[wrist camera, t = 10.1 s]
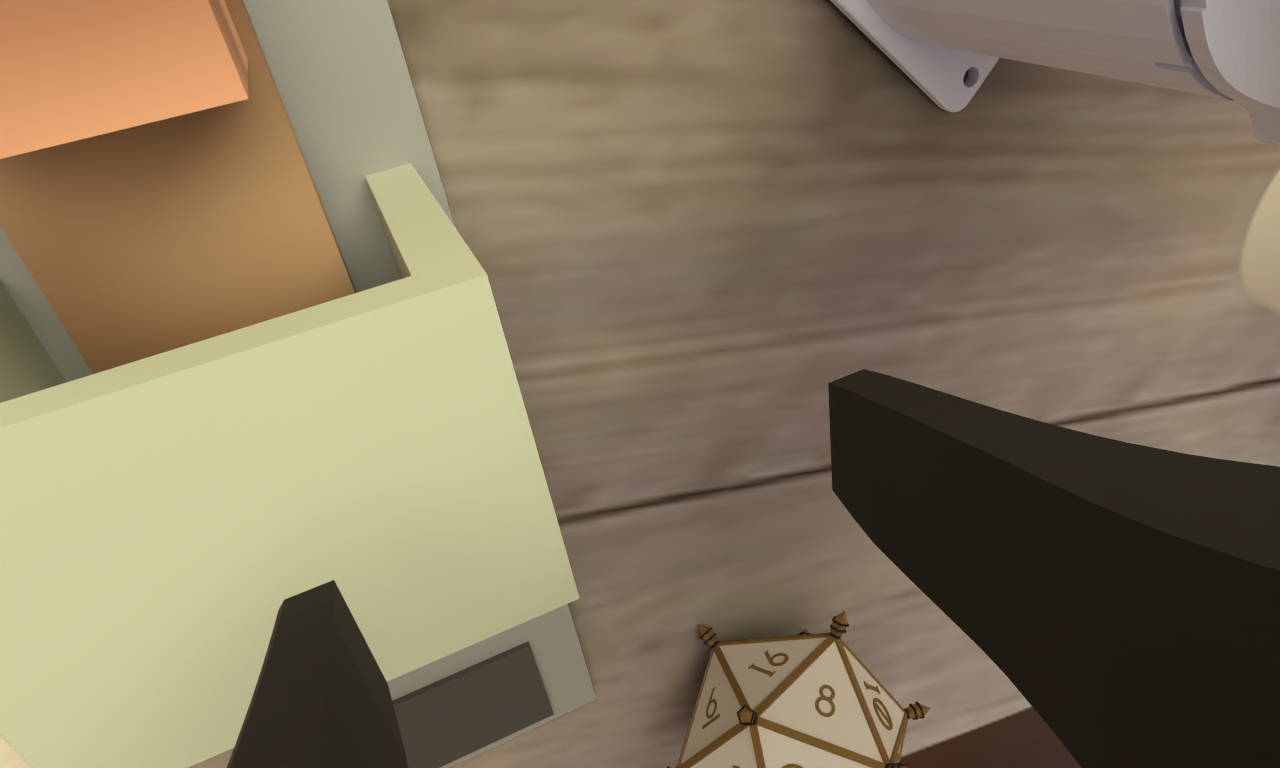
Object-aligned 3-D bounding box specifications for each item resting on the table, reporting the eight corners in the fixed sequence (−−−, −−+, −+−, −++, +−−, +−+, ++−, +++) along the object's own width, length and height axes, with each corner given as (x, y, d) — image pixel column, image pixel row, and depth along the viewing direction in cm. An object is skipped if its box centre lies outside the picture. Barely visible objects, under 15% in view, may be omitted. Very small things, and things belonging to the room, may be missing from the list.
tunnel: (-52, 281, 16) (-231, 500, 10) (406, 156, 18) (487, 274, 12) (128, 542, 20) (78, 814, 14) (488, 413, 22) (579, 598, 16)
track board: (-766, -670, 9) (-822, -702, 9) (178, -681, 12) (175, -707, 11) (299, 820, 26) (299, 837, 25) (590, 686, 28) (596, 699, 28)
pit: (300, 741, 24) (300, 746, 24) (528, 641, 25) (530, 646, 25) (343, 806, 26) (343, 812, 25) (552, 709, 27) (554, 714, 27)
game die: (655, 622, 34) (581, 865, 26) (777, 506, 29) (733, 761, 21) (830, 731, 35) (811, 999, 27) (977, 636, 30) (1009, 929, 22)
